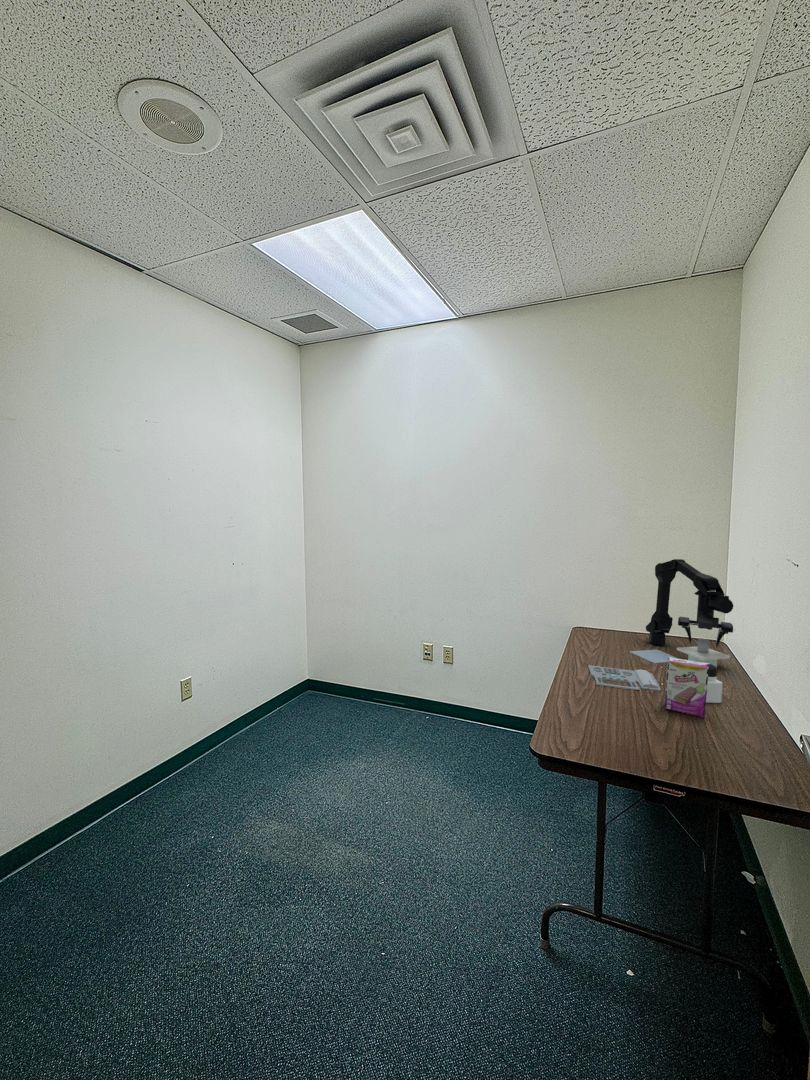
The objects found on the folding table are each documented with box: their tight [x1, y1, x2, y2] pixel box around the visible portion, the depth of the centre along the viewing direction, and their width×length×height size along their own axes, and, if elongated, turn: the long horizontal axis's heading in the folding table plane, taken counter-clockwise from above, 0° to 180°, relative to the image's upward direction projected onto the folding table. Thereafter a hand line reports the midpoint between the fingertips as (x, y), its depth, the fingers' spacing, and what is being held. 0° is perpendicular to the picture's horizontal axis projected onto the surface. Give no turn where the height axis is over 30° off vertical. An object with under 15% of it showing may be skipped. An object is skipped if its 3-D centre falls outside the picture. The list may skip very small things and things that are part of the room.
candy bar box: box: [664, 657, 709, 719], centre depth 143 cm, size 11×5×16 cm, turn 59°
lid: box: [676, 638, 731, 660], centre depth 185 cm, size 13×13×6 cm
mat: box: [628, 649, 680, 664], centre depth 196 cm, size 15×15×1 cm
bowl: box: [687, 654, 719, 669], centre depth 185 cm, size 10×10×5 cm
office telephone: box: [588, 664, 661, 692], centre depth 170 cm, size 23×3×20 cm
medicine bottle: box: [706, 663, 724, 704], centre depth 153 cm, size 7×7×12 cm
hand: (703, 644), depth 185 cm, fingers open, 9 cm apart
